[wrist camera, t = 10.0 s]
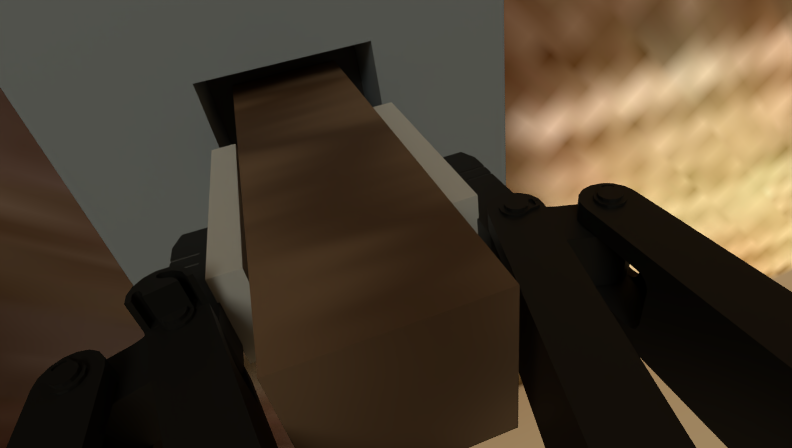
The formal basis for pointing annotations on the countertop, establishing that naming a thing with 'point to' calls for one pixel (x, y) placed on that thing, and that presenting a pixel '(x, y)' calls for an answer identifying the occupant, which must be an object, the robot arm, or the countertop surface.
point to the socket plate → (227, 91)
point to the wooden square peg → (366, 278)
